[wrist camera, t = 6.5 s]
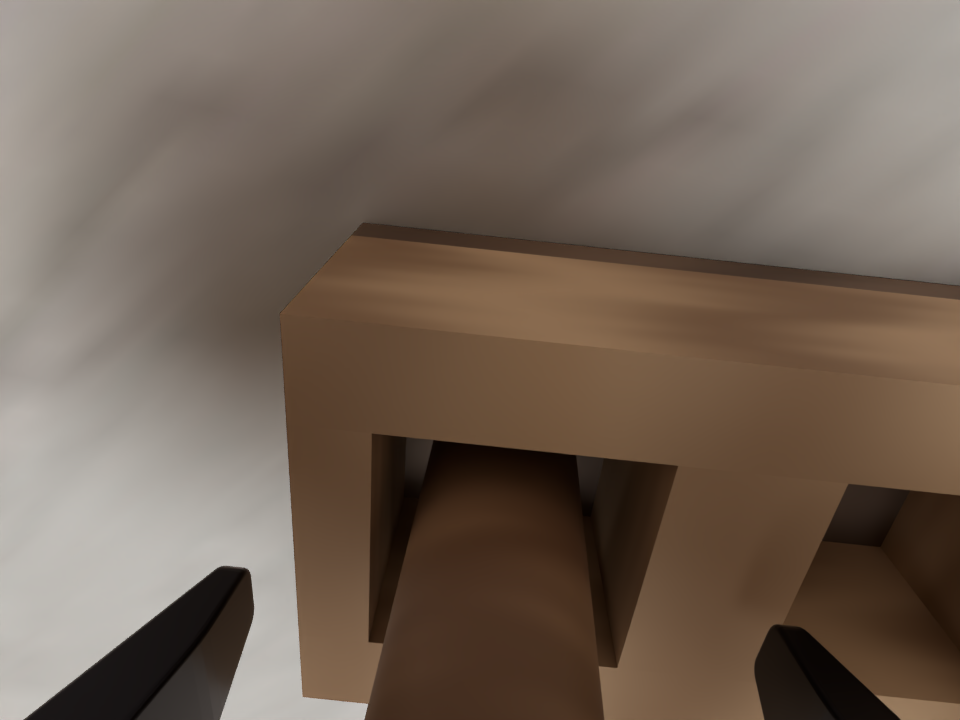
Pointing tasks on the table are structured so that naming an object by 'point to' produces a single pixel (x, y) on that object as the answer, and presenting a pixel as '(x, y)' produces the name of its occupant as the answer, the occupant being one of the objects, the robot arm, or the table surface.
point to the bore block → (642, 455)
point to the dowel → (492, 595)
